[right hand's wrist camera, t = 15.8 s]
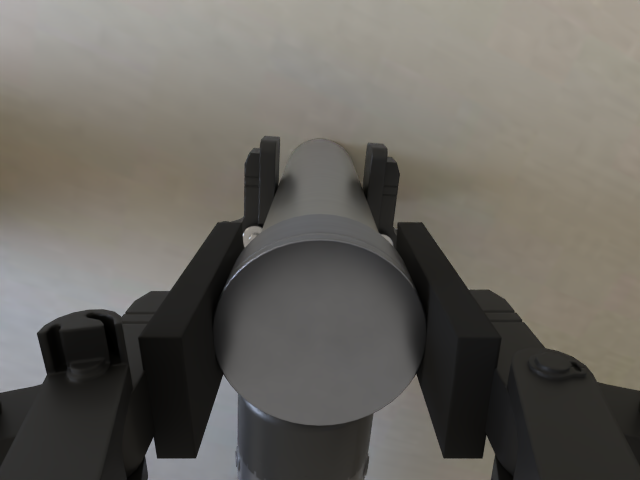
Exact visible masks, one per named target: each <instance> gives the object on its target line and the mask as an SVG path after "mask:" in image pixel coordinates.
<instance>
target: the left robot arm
mask: <svg viewBox="0 0 640 480" xmlns="http://www.w3.org/2000/svg"><path fill="white" fill-rule="evenodd" d="M279 157H280V137H273V136H264V137H263V138H262V139H261V143H260V148H253V150H252V151H251V152H250V153H249V155H248V157H247V160H246V162H245V187H244V217H243V218H241V219H239V220H236V221H232V222H242V230H243V246H244V248H245V247H246V246H247V245H248V244H249V243H250V242H251V241H252V240H253V239H254V238H255V237H256V236H257V235H259V234H260V233H261V231H262V228H263V226H264V223H265V220H266V218H267V215H268V212H269V210H270V207H271V204H272V202H273V199H274V197H275V194H276V191H277V189H278V184H279ZM399 176H400V173H399V170H398V166H397V162H396V161H395V160H394V159H393V158H392V157H387V148H386V147H385V145H384V144H378V143H368V145H367V151H366V160H365V170H364V179H363V192H364V195H365V197H366V200H367V203H368V205H369V208H370V211H371V213H372V216H373V219H374V221H375V224H376V227H377V230H378V232H379V233H380V234H381V235H382V236H383V237H384V238H385V239H387V240H388V241H389V242H390V243H391V245H392V246H393V247H394V248H395V249H396V242H397V230H396V229H395V228H394V227H393V221H394V214H395V206H396V198H397V191H398V183H399ZM223 222H228V221H223ZM372 419H373V414H371V415H368V416H366V417H363V418H361V419H358V420H355V421H351V422H347V423H342V424H336V425H323V426H316V425H303V424H297V423H292V422H288V421H285V420H281V419H279V418H276V417H273V416H271V415H269V414H267V413H265V412H263V411H261V410H259V409H257V408H256V407H255V406H253V405H252V404H250V403H249V402H247V401H246V400H245V399H244V398H243V397H242V396H241V395H239V394H238V446H237V449H236V467H237V471H238V480H364V478H365V475H366V474H367V469H368V463H369V456H368V449H369V442H370V434H371V427H372Z"/></svg>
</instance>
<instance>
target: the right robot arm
mask: <svg viewBox="0 0 640 480" xmlns="http://www.w3.org/2000/svg"><path fill="white" fill-rule="evenodd" d="M243 249H244V246H243V230H242V222H218V223H217V224H216V226H215V227H214V229H213V230H212V231H211V233H210V234H209V236H208V237H207V239H206V240H205V242H204V243H203V244H202V246H201V247H200V249H199V250H198V252H197V253H196V255H195V256H194V257H193V259H192V260H191V262H190V263H189V265H188V266H187V268H186V269H185V270H184V272H183V273H182V275H181V276H180V278H179V279H178V280H177V282H176V283H175V285H174V286H173V288H172V289H171V291H151V292H149V293H147V294H146V295H144V296H142V297H141V298H139V299H137V300H136V301H134V303H133V304H132V305H131V306H130V307H129V309H128V310H127V311H126V314H124V315H123V316H122V317H121V316H120V315H118V314H117V313H115V312H113V311H108V310H104V309H100V310H85V311H80V312H74V313H71V314H68V315H65V316H62V317H59V318H57V319H55V320H53V321H52V322H50V323H48V324H46V325H45V326H44V327H43V328H42V329H41V330H40V331H39V332H38V333H37V336H38V340H39V344H40V348H41V352H42V356H43V360H44V364H45V368H46V372H47V376H46V378H45V380H44V382H43V384H41V385H37V386H33V387H28V388H23V389H18V390H13V391H8V392H3V393H0V480H147V479H148V472H147V465H146V459H145V454H146V452H147V450H148V447H149V445H150V443H151V441H152V439H153V437H154V442H155V448H156V454H157V458H196V457H197V454H198V451H199V448H200V444H201V441H202V438H203V435H204V432H205V429H206V426H207V423H208V420H209V417H210V413H211V410H212V407H213V404H214V401H215V398H216V395H217V392H218V389H219V386H220V382H221V379H222V376H223V372H222V370H221V368H220V366H219V364H218V362H217V359H216V355H215V349H214V339H213V327H212V322H213V315H214V311H215V308H216V305H217V302H218V299H219V297H220V295H221V293H222V291H223V288H224V286H225V284H226V282H227V279H228V277H229V275H230V273H231V271H232V268H233V266H234V264H235V262H236V260H237V258H238V257H239V255H240V254H241V252H242V251H243ZM396 250H397V252H398V253H399V255H400V256H401V258H402V260H403V261H404V264H405V266H406V268H407V270H408V272H409V274H410V277H411V279H412V281H413V283H414V286H415V288H416V290H417V292H418V294H419V297H420V299H421V301H422V304H423V307H424V311H425V314H426V320H427V335H426V346H425V353H424V356H423V359H422V362H421V365H420V367H419V369H418V371H417V373H416V374H417V377H418V380H419V383H420V386H421V390H422V393H423V396H424V399H425V402H426V405H427V408H428V411H429V414H430V417H431V420H432V424H433V427H434V430H435V433H436V436H437V439H438V442H439V445H440V448H441V451H442V455H443V458H483V452H484V446H485V440H486V435H487V437H488V439H489V441H490V444H491V446H492V448H493V450H494V452H495V459H494V465H493V471H492V476H491V480H640V391H638V390H633V389H627V388H622V387H617V386H612V385H607V384H603V383H599V382H597V381H596V379H595V377H594V375H593V374H592V373H591V371H590V370H589V369H588V368H587V367H586V365H584V364H583V363H581V362H580V361H578V360H577V359H575V358H574V357H572V356H569V355H567V354H564V353H562V352H559V351H555V350H551V349H546V348H545V347H544V346H543V345H542V343H541V342H540V341H539V340H538V339H537V337H536V336H535V335H534V334H533V333H532V331H531V330H530V329H529V328H528V327H527V325H526V324H525V323H524V322H522V319H521V318H520V317H519V316H518V314H517V313H514V310H513V308H512V307H511V306H510V305H509V304H508V302H507V301H506V300H505V299H504V298H502V297H500V296H499V295H497V294H495V293H493V292H492V291H490V290H468V288H467V287H466V285H465V284H464V282H463V281H462V279H461V278H460V277H459V275H458V274H457V272H456V271H455V269H454V268H453V266H452V265H451V264H450V262H449V261H448V259H447V258H446V256H445V255H444V253H443V252H442V251H441V249H440V248H439V246H438V245H437V243H436V242H435V241H434V239H433V238H432V236H431V235H430V233H429V232H428V230H427V229H426V228H425V226H424V225H423V223H422V222H398V225H397V242H396Z"/></svg>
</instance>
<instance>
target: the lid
mask: <svg viewBox="0 0 640 480" xmlns="http://www.w3.org/2000/svg"><path fill="white" fill-rule="evenodd" d="M212 327H213V339H214V349H215V355H216V359H217V362H218V364H219V366H220V368H221V370H222V372H223V374H224V376H225V377H226V379H227V380H228V382H229V383H230V385H231V386H232V387H233V388H234V389H235V390H236V391H237V393H238V394H239V395H241V396H242V397H243V398H244V399H245V400H246V401H247V402H249V403H250V404H252V405H253V406H255V407H256V408H257V409H259V410H261V411H263V412H265V413H267V414H269V415H271V416H273V417H276V418H279V419H281V420H285V421H288V422H292V423H297V424H303V425H316V426H323V425H336V424H342V423H347V422H351V421H355V420H358V419H361V418H363V417H366V416H368V415H371V414H373V413H374V412H376V411H378V410H380V409H382V408H383V407H385V406H386V405H388V404H389V403H391V402H392V401H393V400H394V399H395V398H396V397H398V396H399V395H400V394H401V393H402V392H403V391H404V390H405V388H406V387H407V386H408V385H409V384H410V382H411V381H412V379H413V378H414V376H415V375H416V373H417V371H418V369H419V367H420V365H421V362H422V359H423V356H424V353H425V346H426V335H427V320H426V314H425V311H424V307H423V304H422V301H421V299H420V297H419V294H418V292H417V290H416V288H415V286H414V283H413V281H412V279H411V277H410V274H409V272H408V270H407V268H406V266H405V264H404V261H403V260H402V258H401V256H400V255H399V253H398V252H397V250H396V249H395V248H394V247H393V246H392V245H391V243H390V242H389V241H388V240H387V239H385V238H384V237H383V236H382V235H381V234H380V233H378V232H377V231H375V230H373V229H372V228H370V227H369V226H367V225H365V224H363V223H360V222H358V221H356V220H353V219H350V218H347V217H342V216H337V215H329V214H310V215H303V216H297V217H293V218H290V219H287V220H284V221H281V222H279V223H277V224H275V225H273V226H271V227H269V228H267V229H266V230H264V231H263V232H261V233H260V234H259V235H257V236H256V237H255V238H254V239H253V240H252V241H251V242H250V243H249V244H248V245H247V246H246V247H245V248H244V249H243V251H242V252H241V254H240V255H239V257H238V258H237V260H236V262H235V264H234V266H233V268H232V271H231V273H230V275H229V277H228V279H227V282H226V284H225V286H224V288H223V291H222V293H221V295H220V297H219V299H218V302H217V305H216V308H215V311H214V315H213V322H212Z"/></svg>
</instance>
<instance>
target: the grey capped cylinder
mask: <svg viewBox="0 0 640 480" xmlns="http://www.w3.org/2000/svg"><path fill="white" fill-rule="evenodd" d="M310 214H329V215H337V216H342V217H347V218H350V219H353V220H356V221H358V222H360V223H363V224H365V225H367V226H369V227H370V228H372V229H373V230H375V231H377V232H378V230H377V227H376V224H375V221H374V219H373V216H372V213H371V211H370V208H369V205H368V203H367V200H366V197H365V195H364V192H363V189H362V187H361V184H360V181H359V179H358V176H357V173H356V171H355V168H354V165H353V162H352V160H351V158H350V156H349V154H348V153H347V152H346V150H345V149H344V148H343V147H342V146H340V145H339V144H337V143H335V142H333V141H330V140H326V139H314V140H310V141H307V142H305V143H303V144H301V145H300V146H298V147H297V148H296V149H295V150H294V151H293V153H292V154H291V156H290V157H289V160H288V162H287V165H286V167H285V170H284V173H283V175H282V178H281V181H280V183H279V186H278V189H277V191H276V194H275V197H274V199H273V202H272V204H271V207H270V210H269V212H268V215H267V218H266V220H265V223H264V226H263V228H262V231H261V232H263V231H264V230H266V229H267V228H269V227H271V226H273V225H275V224H277V223H279V222H281V221H284V220H287V219H290V218H293V217H297V216H303V215H310ZM378 233H379V232H378Z"/></svg>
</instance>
